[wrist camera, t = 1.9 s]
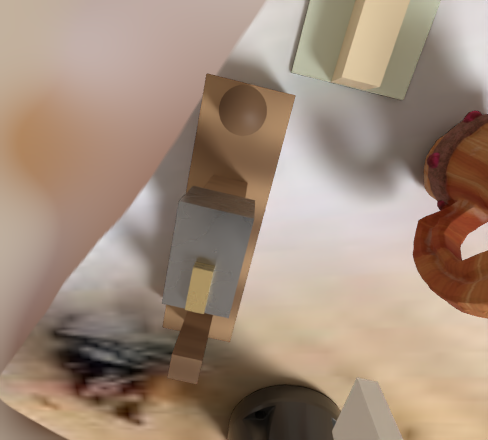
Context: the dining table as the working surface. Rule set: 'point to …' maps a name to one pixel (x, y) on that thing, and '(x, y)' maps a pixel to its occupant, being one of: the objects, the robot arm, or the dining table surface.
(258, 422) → the robot arm
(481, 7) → the dining table surface
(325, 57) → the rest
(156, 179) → the dining table surface
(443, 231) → the mug
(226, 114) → the wooden peg board
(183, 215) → the lever cap
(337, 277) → the dining table surface
